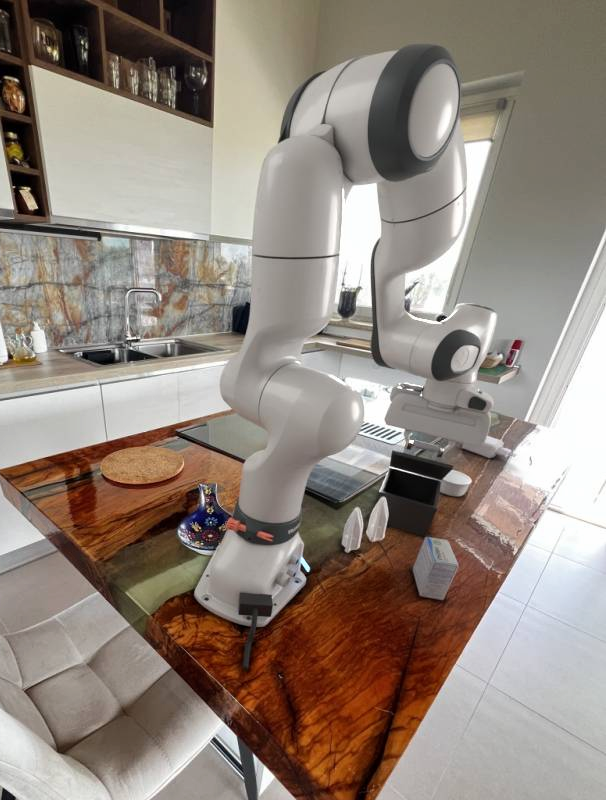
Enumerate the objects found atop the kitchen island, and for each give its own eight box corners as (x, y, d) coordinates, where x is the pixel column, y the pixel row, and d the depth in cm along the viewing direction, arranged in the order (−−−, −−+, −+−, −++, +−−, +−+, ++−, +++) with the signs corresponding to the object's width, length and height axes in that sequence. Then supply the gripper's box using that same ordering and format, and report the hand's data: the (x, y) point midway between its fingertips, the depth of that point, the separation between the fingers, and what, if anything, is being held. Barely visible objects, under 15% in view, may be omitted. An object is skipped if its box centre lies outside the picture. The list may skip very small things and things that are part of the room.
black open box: (425, 537, 94) (437, 508, 90) (370, 519, 99) (378, 491, 95) (430, 506, 106) (441, 480, 102) (381, 492, 111) (389, 466, 107)
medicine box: (443, 601, 77) (460, 566, 72) (418, 596, 77) (434, 561, 73) (434, 574, 83) (449, 539, 79) (411, 569, 84) (425, 535, 79)
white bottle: (507, 466, 133) (460, 449, 142) (516, 459, 139) (471, 443, 148) (514, 452, 131) (466, 436, 139) (522, 446, 136) (476, 430, 145)
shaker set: (376, 531, 95) (390, 489, 89) (389, 541, 92) (404, 499, 86) (334, 541, 90) (346, 498, 84) (347, 553, 87) (360, 509, 81)
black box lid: (452, 469, 87) (459, 448, 87) (391, 453, 91) (398, 433, 91) (441, 480, 102) (447, 462, 102) (389, 466, 107) (395, 449, 106)
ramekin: (434, 494, 112) (440, 480, 110) (429, 479, 120) (434, 466, 118) (469, 500, 111) (475, 486, 109) (461, 485, 118) (467, 472, 116)
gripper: (392, 383, 86) (374, 445, 93) (502, 406, 78) (473, 471, 86) (396, 377, 90) (379, 436, 98) (500, 398, 83) (473, 460, 90)
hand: (423, 453), depth 92 cm, fingers closed on black box lid, 5 cm apart
